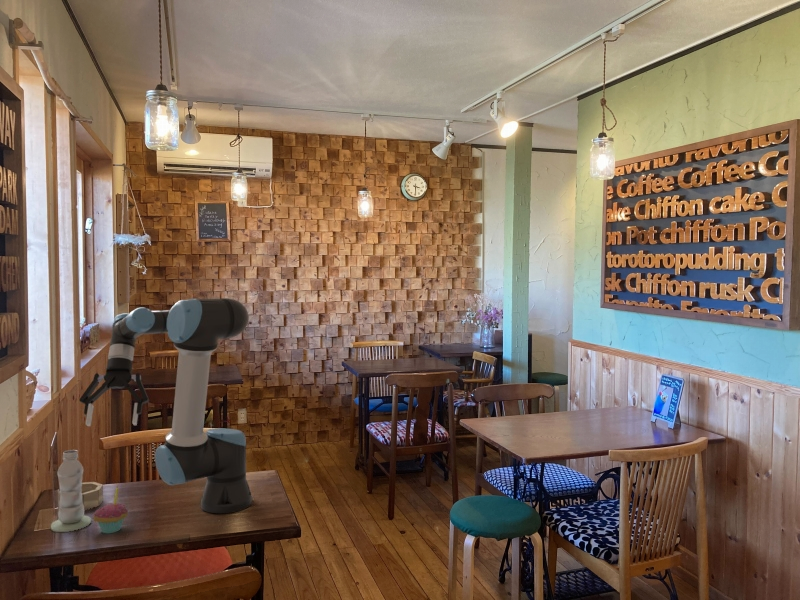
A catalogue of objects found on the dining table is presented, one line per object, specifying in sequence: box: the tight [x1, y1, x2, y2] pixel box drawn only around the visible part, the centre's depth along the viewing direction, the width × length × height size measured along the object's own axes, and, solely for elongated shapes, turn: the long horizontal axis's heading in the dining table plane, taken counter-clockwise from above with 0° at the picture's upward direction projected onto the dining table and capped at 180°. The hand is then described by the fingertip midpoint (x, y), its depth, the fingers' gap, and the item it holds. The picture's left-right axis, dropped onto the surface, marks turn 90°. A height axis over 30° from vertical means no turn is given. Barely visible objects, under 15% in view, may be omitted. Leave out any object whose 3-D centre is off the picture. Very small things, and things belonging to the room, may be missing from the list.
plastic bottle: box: [56, 449, 86, 524], centre depth 173 cm, size 6×7×20 cm
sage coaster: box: [50, 515, 92, 533], centre depth 174 cm, size 10×10×1 cm
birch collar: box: [57, 481, 104, 511], centre depth 189 cm, size 11×11×5 cm
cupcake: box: [92, 485, 129, 534], centre depth 170 cm, size 9×8×12 cm
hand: (111, 424), depth 191 cm, fingers open, 13 cm apart
